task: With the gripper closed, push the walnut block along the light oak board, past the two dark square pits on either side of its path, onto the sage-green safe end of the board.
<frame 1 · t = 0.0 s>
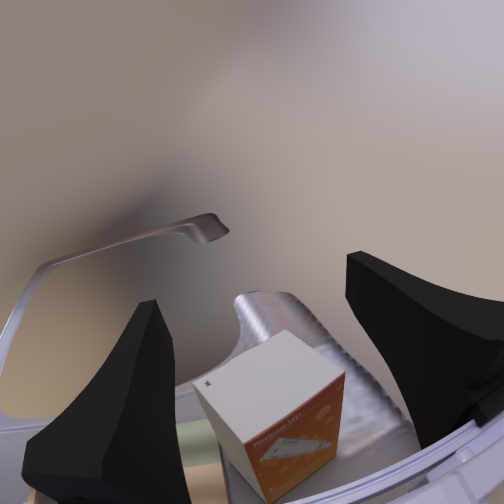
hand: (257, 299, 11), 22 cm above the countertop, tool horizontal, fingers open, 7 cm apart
small box: (283, 462, 24), on the countertop
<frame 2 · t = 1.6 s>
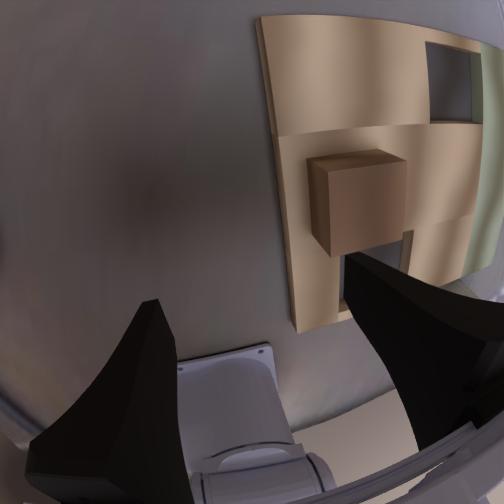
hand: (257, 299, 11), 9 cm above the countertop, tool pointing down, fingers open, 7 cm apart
small box: (435, 310, 30), on the countertop
block: (346, 191, 19), point 1 cm above the countertop, touching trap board
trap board: (420, 171, 21), on the countertop
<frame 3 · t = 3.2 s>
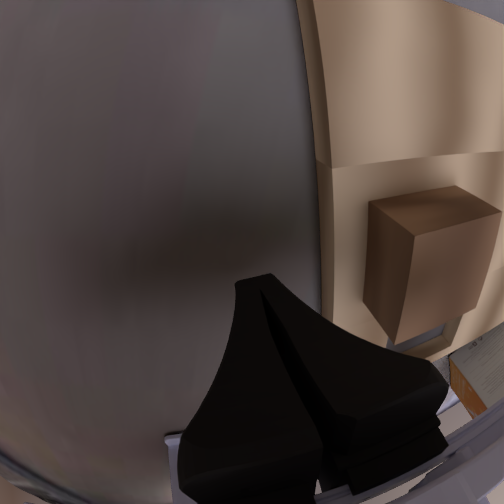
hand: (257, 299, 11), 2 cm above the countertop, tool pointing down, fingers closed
small box: (470, 352, 24), on the countertop
block: (412, 243, 13), point 1 cm above the countertop, touching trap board
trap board: (485, 206, 15), on the countertop
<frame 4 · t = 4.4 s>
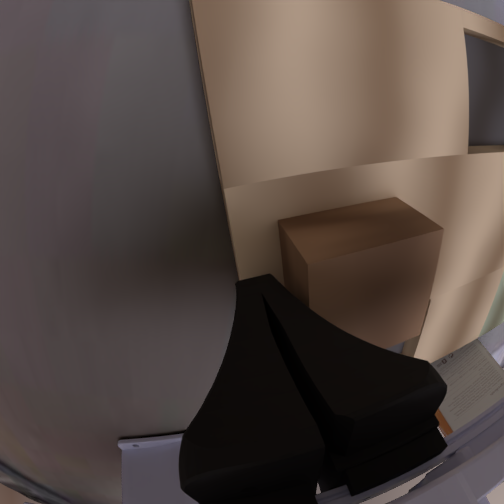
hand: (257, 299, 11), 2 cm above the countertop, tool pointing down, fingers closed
small box: (443, 368, 24), on the countertop
block: (341, 263, 13), point 1 cm above the countertop, touching gripper, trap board
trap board: (446, 217, 15), on the countertop
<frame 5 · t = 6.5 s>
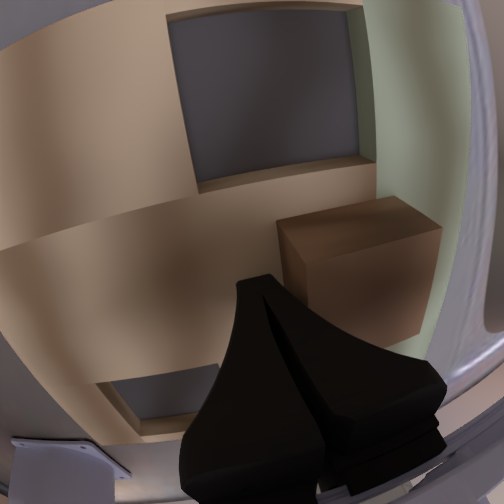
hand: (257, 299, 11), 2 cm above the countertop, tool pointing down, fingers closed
small box: (330, 416, 23), on the countertop
block: (340, 262, 13), point 1 cm above the countertop, touching gripper, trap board
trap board: (228, 268, 13), on the countertop
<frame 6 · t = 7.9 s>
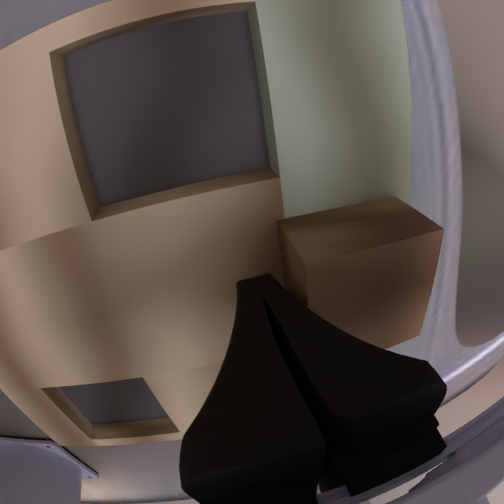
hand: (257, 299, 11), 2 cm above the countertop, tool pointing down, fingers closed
block: (341, 263, 13), point 1 cm above the countertop, touching gripper, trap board
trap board: (144, 287, 13), on the countertop
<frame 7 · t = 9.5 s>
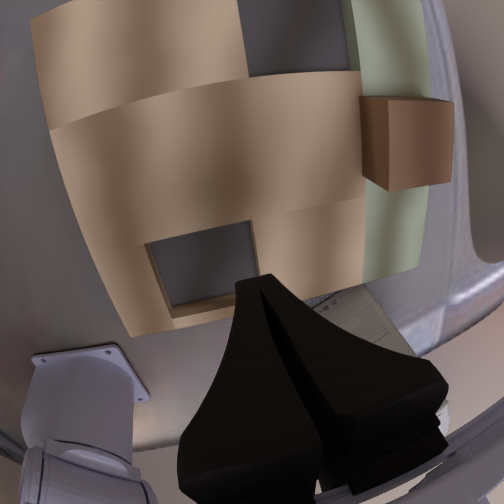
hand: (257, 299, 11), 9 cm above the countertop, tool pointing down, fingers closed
small box: (342, 322, 27), on the countertop
block: (394, 134, 17), point 1 cm above the countertop, touching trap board
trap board: (262, 143, 18), on the countertop
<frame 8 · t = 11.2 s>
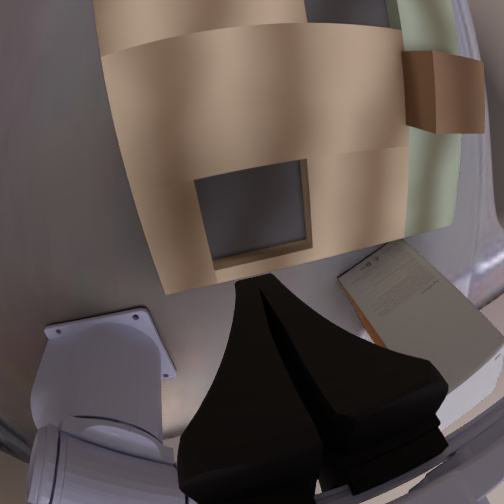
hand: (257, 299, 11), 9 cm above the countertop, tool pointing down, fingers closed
small box: (379, 285, 26), on the countertop
block: (431, 89, 16), point 1 cm above the countertop, touching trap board
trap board: (314, 88, 17), on the countertop
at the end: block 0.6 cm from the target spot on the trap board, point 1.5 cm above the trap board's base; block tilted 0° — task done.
